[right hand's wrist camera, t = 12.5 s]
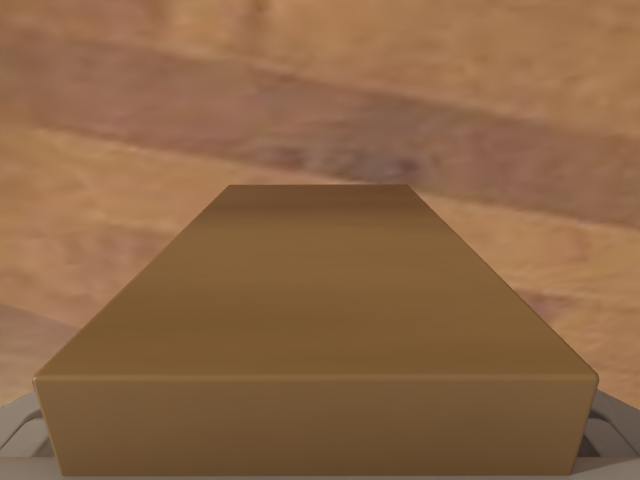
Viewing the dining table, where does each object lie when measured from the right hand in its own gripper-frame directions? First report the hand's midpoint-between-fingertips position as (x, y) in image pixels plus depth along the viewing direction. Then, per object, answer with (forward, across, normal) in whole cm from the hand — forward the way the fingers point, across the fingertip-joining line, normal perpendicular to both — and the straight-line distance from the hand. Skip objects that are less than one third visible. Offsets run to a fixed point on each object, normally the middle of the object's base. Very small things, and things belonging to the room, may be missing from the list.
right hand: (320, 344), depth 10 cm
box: (+5, 0, -10) cm, 11 cm away
